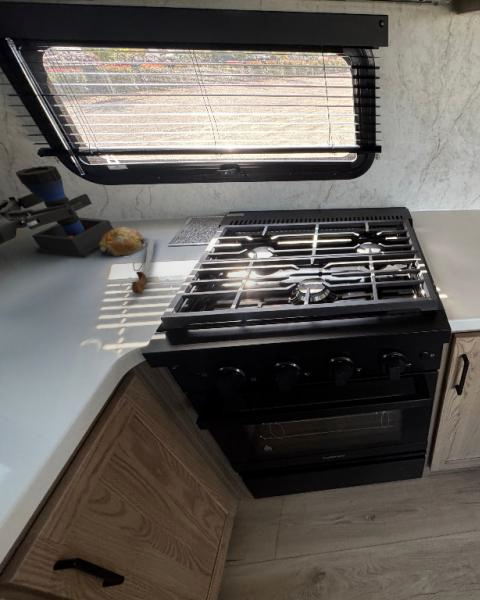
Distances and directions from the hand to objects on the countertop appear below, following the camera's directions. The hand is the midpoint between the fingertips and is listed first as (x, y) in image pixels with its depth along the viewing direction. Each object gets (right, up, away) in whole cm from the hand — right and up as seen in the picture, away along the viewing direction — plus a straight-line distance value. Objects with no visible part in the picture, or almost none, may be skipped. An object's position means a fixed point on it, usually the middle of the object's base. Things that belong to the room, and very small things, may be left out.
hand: (66, 196), depth 96 cm
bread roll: (+13, -14, +4) cm, 20 cm away
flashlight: (-1, -11, +5) cm, 12 cm away
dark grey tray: (-1, -13, +6) cm, 14 cm away
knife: (+25, -20, -3) cm, 33 cm away
